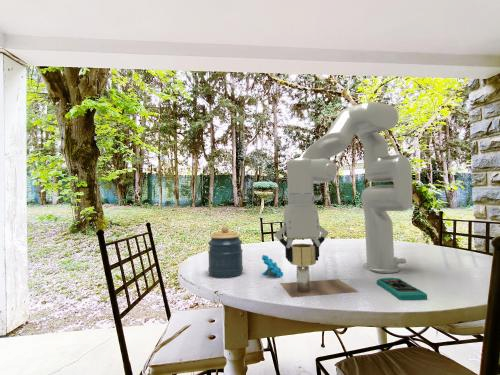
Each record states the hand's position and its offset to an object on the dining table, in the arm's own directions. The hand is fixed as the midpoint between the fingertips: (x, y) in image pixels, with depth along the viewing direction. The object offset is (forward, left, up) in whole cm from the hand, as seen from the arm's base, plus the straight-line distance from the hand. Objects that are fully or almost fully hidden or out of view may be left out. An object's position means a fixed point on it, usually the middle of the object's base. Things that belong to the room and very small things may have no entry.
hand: (302, 260), depth 83 cm
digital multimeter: (-26, +6, -10) cm, 29 cm away
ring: (0, 0, -1) cm, 1 cm away
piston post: (0, 0, -9) cm, 9 cm away
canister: (+21, -27, -10) cm, 36 cm away
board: (-5, -2, -9) cm, 11 cm away
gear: (+5, -19, -10) cm, 22 cm away
